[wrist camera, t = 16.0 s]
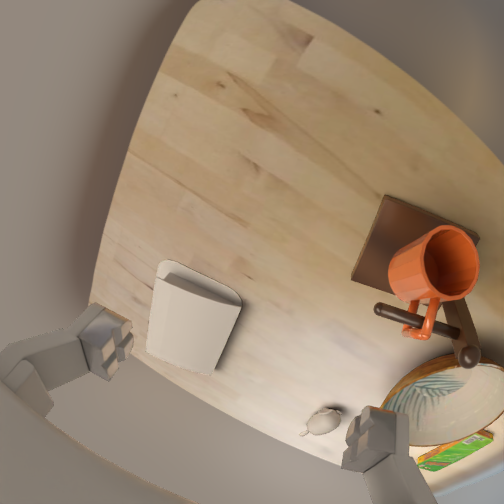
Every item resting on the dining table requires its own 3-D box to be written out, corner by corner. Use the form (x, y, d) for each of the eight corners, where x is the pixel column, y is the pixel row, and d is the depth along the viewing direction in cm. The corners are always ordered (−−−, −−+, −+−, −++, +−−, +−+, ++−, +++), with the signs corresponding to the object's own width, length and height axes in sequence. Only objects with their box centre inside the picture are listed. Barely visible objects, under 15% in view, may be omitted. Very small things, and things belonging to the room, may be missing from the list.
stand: (384, 194, 35) (404, 278, 20) (476, 233, 33) (530, 325, 18) (351, 274, 42) (341, 379, 27) (436, 303, 40) (457, 406, 25)
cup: (395, 237, 33) (427, 214, 25) (444, 256, 32) (483, 239, 24) (370, 327, 31) (399, 331, 23) (421, 343, 30) (460, 349, 22)
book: (147, 338, 63) (137, 351, 59) (160, 253, 50) (147, 266, 47) (213, 372, 62) (205, 386, 58) (247, 295, 49) (239, 311, 46)
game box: (492, 431, 51) (434, 466, 61) (473, 423, 51) (412, 460, 61) (494, 440, 48) (434, 475, 59) (475, 433, 48) (412, 469, 59)
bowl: (400, 425, 55) (399, 457, 49) (355, 359, 49) (351, 397, 42) (508, 387, 43) (516, 418, 36) (495, 302, 36) (511, 338, 30)
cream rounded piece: (319, 411, 53) (291, 424, 62) (331, 433, 51) (301, 444, 59) (341, 398, 57) (312, 413, 65) (353, 418, 54) (322, 431, 62)
